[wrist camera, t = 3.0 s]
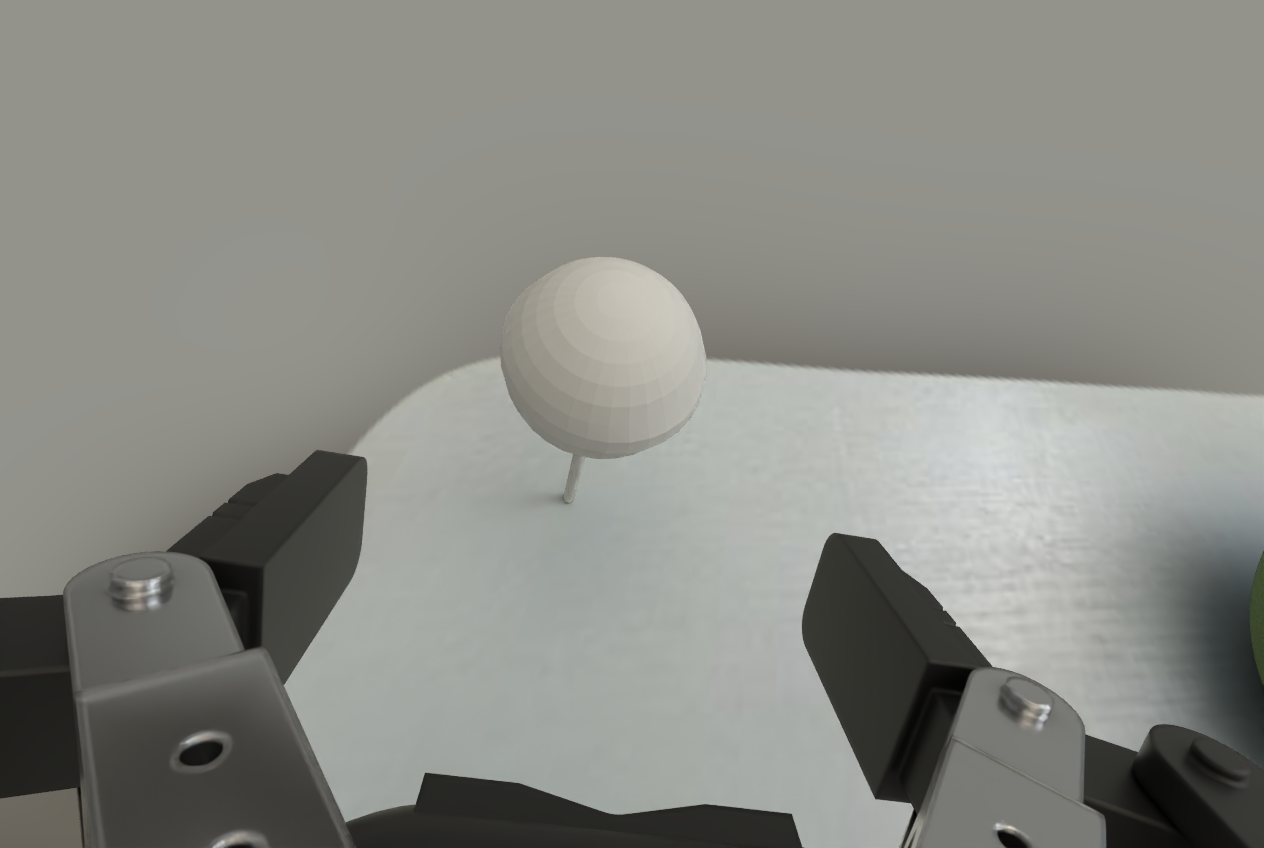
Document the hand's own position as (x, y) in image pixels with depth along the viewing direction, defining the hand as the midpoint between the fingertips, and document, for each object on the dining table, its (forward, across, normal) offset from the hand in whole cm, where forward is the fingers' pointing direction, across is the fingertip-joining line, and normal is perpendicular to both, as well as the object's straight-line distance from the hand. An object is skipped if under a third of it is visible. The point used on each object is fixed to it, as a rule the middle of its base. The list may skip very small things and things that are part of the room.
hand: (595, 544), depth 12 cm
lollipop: (+18, 0, +8) cm, 19 cm away
